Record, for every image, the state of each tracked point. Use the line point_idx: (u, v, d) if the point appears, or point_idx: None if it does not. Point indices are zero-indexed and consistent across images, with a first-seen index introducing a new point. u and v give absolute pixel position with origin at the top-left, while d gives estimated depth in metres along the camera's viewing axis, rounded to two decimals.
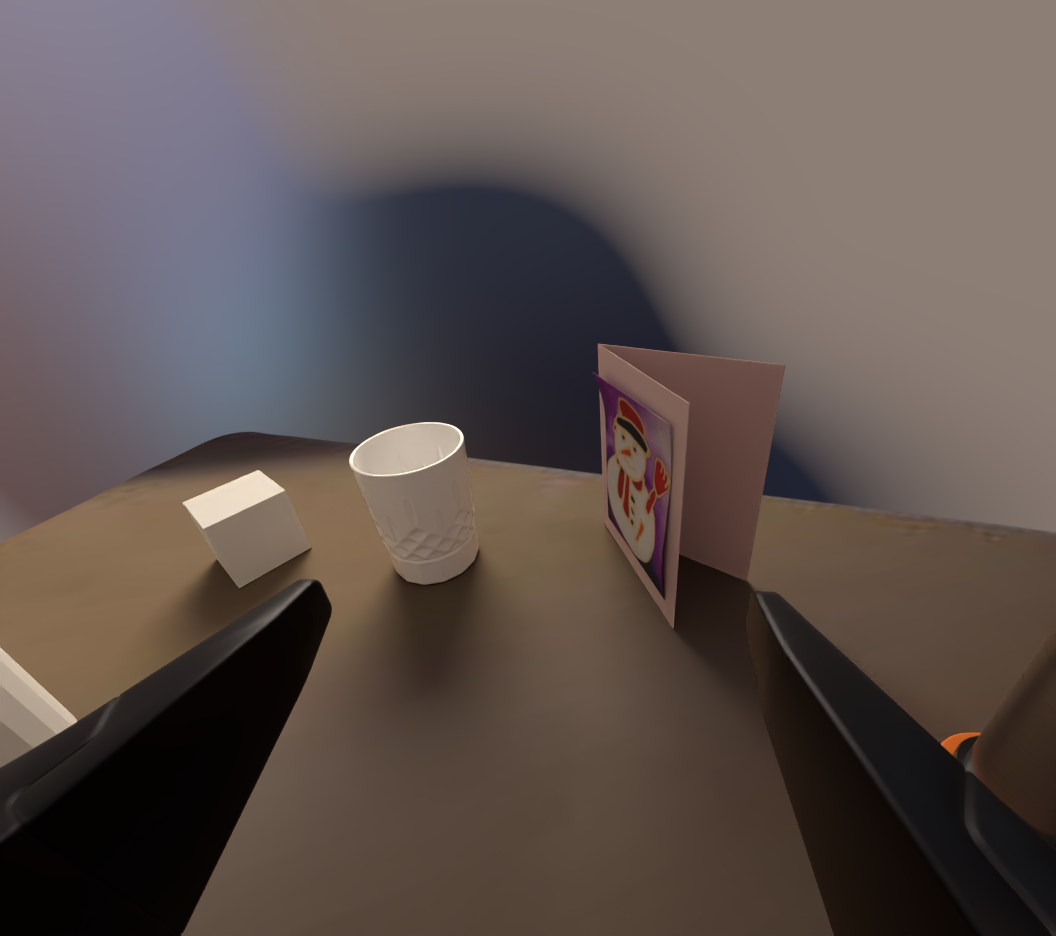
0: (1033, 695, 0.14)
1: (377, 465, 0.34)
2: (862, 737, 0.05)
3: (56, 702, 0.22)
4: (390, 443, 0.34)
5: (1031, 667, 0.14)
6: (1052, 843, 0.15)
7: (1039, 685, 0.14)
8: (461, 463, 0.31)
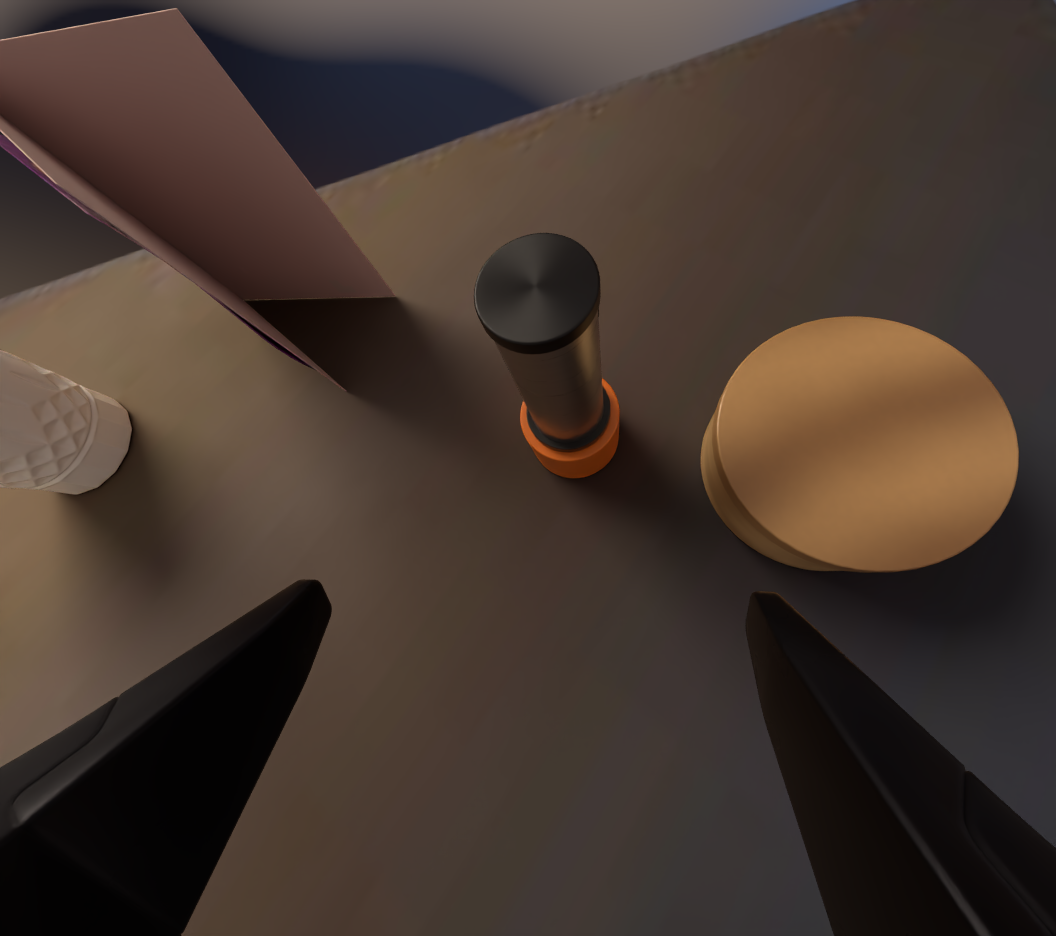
0: (511, 374, 0.16)
1: None
2: (862, 737, 0.05)
3: None
4: None
5: None
6: (577, 442, 0.20)
7: None
8: None
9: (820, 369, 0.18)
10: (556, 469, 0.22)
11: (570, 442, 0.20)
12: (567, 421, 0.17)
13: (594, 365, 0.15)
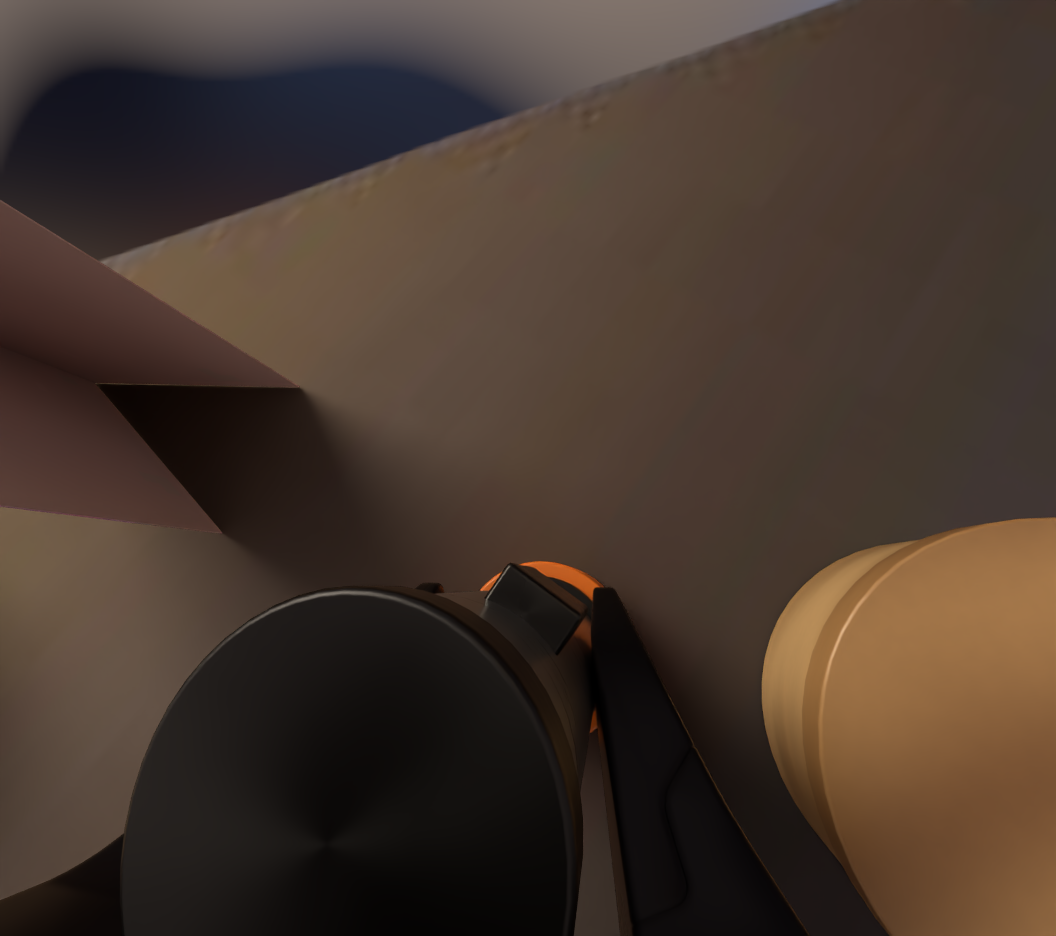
0: None
1: None
2: (618, 718, 0.06)
3: None
4: None
5: None
6: None
7: None
8: None
9: (1021, 630, 0.09)
10: None
11: None
12: None
13: None
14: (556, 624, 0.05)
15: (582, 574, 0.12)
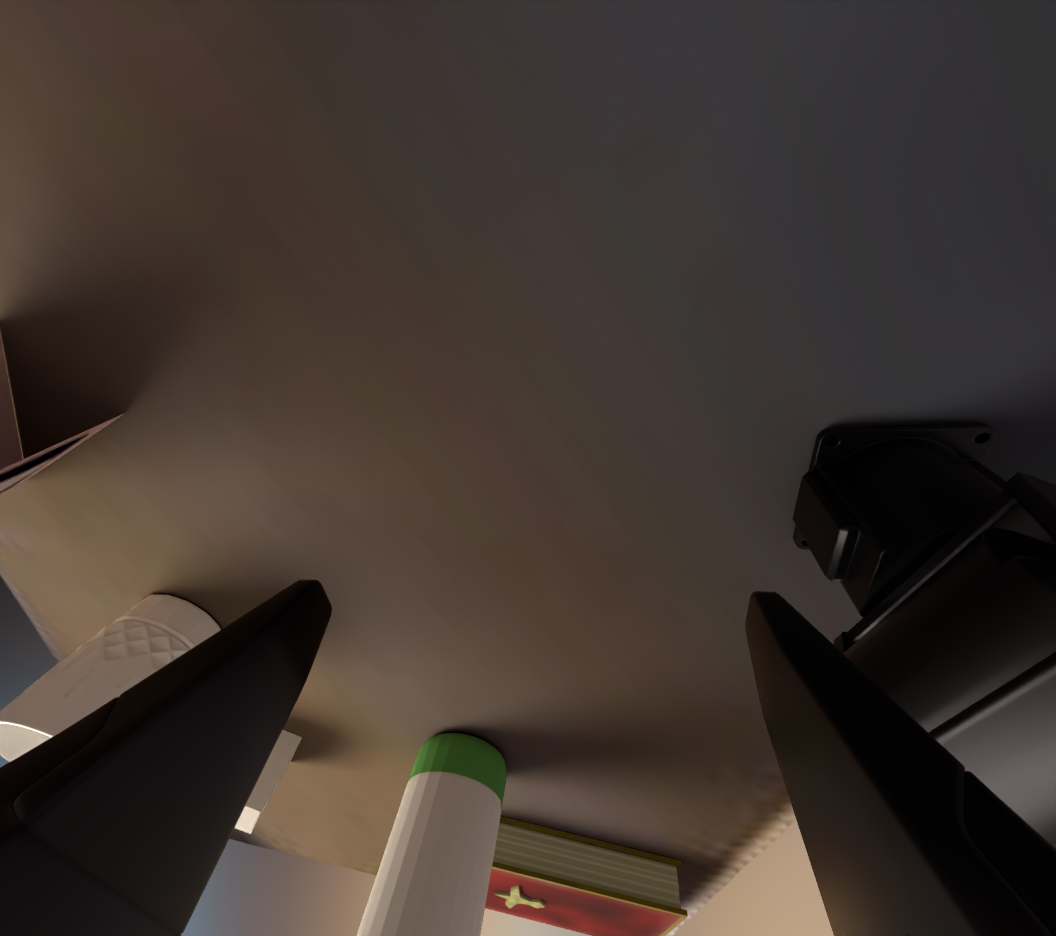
0: None
1: None
2: (862, 737, 0.05)
3: (400, 805, 0.34)
4: None
5: None
6: None
7: None
8: (34, 702, 0.26)
9: None
10: None
11: None
12: None
13: None
14: None
15: None
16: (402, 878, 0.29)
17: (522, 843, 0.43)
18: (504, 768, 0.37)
